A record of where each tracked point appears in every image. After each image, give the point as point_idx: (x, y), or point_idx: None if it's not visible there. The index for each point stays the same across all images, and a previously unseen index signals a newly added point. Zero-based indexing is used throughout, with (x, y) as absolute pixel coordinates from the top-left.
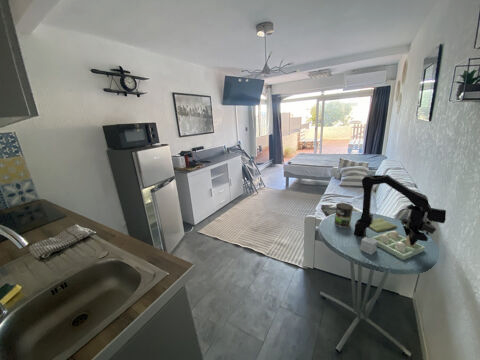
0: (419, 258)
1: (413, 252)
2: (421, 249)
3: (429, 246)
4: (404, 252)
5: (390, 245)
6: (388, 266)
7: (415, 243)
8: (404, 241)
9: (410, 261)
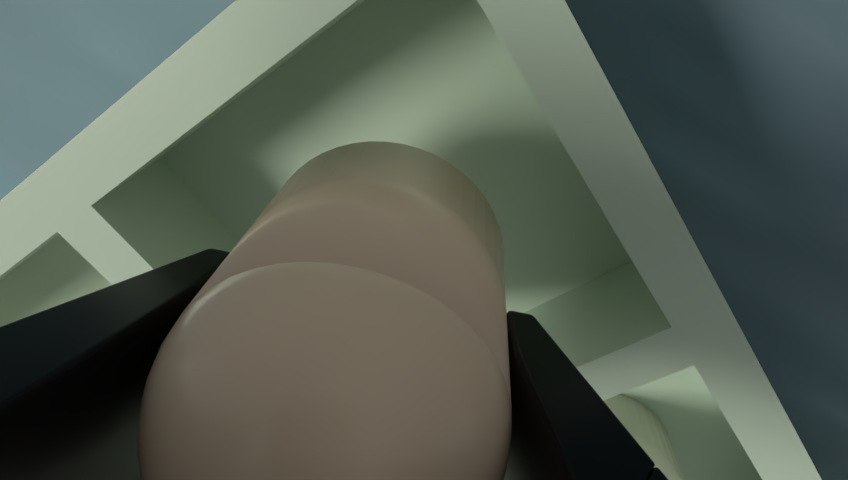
0: (758, 150)
1: (754, 357)
2: (578, 27)
3: None
4: (669, 453)
5: None
6: None
7: (469, 247)
8: (181, 246)
9: (835, 374)
